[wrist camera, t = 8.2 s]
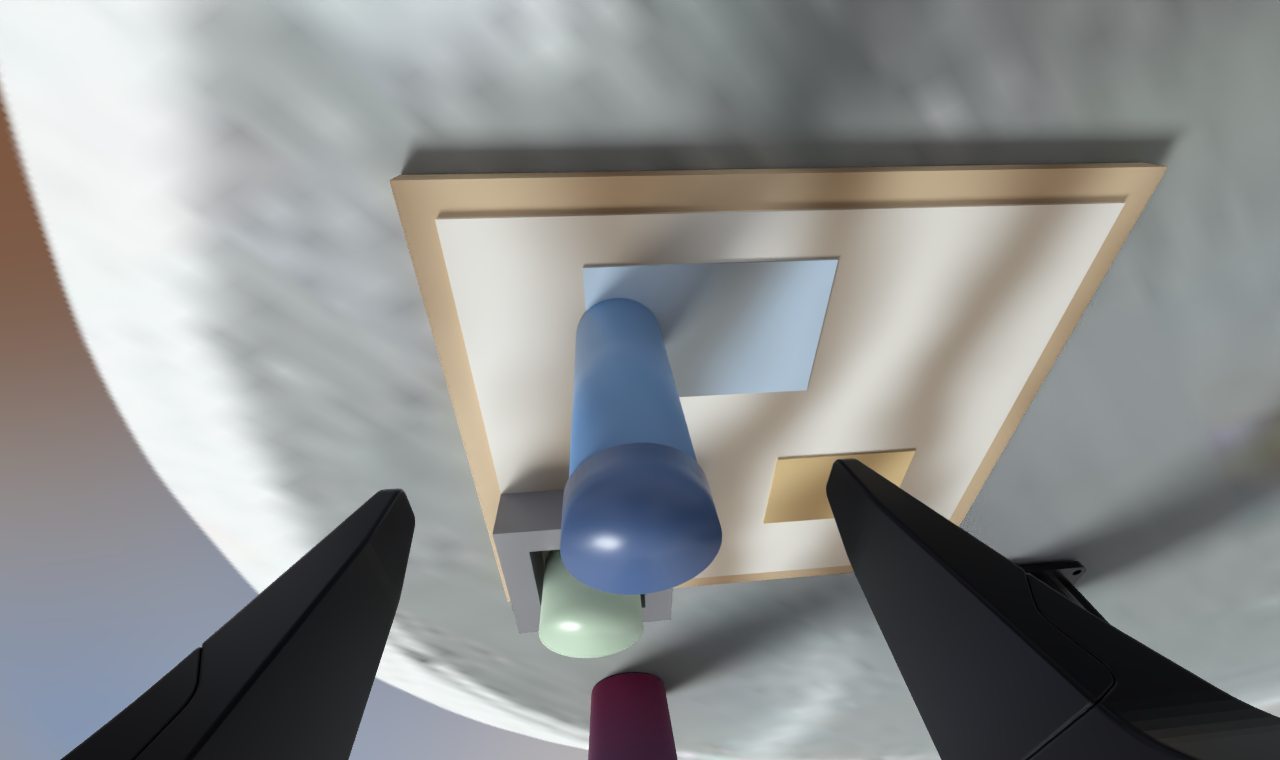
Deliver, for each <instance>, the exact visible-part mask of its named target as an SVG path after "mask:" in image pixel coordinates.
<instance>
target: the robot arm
mask: <svg viewBox="0 0 1280 760" xmlns="http://www.w3.org/2000/svg"><path fill="white" fill-rule="evenodd" d="M826 495H827V498H828V501H829V504H830V507H831V510H832V513H833V516H834V519H835V522H836V525H837V528H838V530H839V533H840V536H841V539H842V542H843V545H844V548H845V551H846V554H847V556H848V559H849V562H850V564H851V566H852V568H853V571H854V573H855V575H856V577H857V579H858V582H859V584H860V586H861V588H862V590H863V592H864V594H865V597H866V599H867V601H868V603H869V605H870V607H871V609H872V612H873V614H874V616H875V618H876V620H877V622H878V625H879V627H880V629H881V631H882V633H883V635H884V637H885V640H886V642H887V644H888V646H889V648H890V650H891V652H892V655H893V657H894V659H895V661H896V663H897V665H898V667H899V670H900V672H901V674H902V676H903V678H904V680H905V682H906V685H907V687H908V689H909V691H910V693H911V695H912V697H913V700H914V702H915V704H916V706H917V708H918V710H919V713H920V715H921V717H922V719H923V721H924V723H925V725H926V728H927V730H928V732H929V734H930V736H931V738H932V740H933V743H934V745H935V747H936V749H937V751H938V753H939V755H940V758H941V760H1280V718H1279V717H1277V716H1274V715H1272V714H1269V713H1267V712H1264V711H1262V710H1260V709H1257V708H1255V707H1253V706H1251V705H1249V704H1247V703H1245V702H1243V701H1241V700H1239V699H1237V698H1235V697H1233V696H1231V695H1229V694H1228V693H1226V692H1224V691H1222V690H1220V689H1219V688H1217V687H1215V686H1213V685H1212V684H1210V683H1208V682H1207V681H1205V680H1203V679H1202V678H1200V677H1198V676H1196V675H1195V674H1193V673H1191V672H1190V671H1188V670H1186V669H1184V668H1183V667H1181V666H1179V665H1178V664H1176V663H1174V662H1173V661H1171V660H1169V659H1167V658H1166V657H1164V656H1162V655H1161V654H1159V653H1157V652H1156V651H1154V650H1152V649H1150V648H1149V647H1147V646H1145V645H1144V644H1142V643H1140V642H1139V641H1137V640H1135V639H1133V638H1132V637H1130V636H1128V635H1127V634H1125V633H1123V632H1122V631H1120V630H1118V629H1117V628H1115V627H1113V626H1112V625H1110V624H1109V623H1108V622H1107V621H1106V620H1105V619H1104V617H1103V616H1102V615H1101V614H1100V613H1099V612H1098V611H1097V610H1096V609H1095V608H1094V607H1093V606H1092V605H1091V604H1090V603H1089V602H1088V601H1087V599H1086V598H1085V597H1084V596H1083V595H1082V594H1081V593H1080V592H1079V591H1078V590H1077V589H1076V588H1075V587H1074V586H1073V585H1074V584H1075V582H1076V581H1077V580H1078V579H1079V578H1080V577H1081V576H1082V574H1083V573H1084V572H1085V571H1086V568H1085V567H1084V566H1083V565H1082V564H1081V563H1080V562H1078V561H1074V562H1062V563H1051V564H1039V565H1028V566H1017V565H1016V564H1014V563H1013V562H1011V561H1010V560H1008V559H1007V558H1005V557H1004V556H1002V555H1001V554H999V553H998V552H996V551H995V550H993V549H992V548H990V547H989V546H987V545H986V544H984V543H983V542H981V541H980V540H978V539H977V538H975V537H974V536H972V535H971V534H969V533H968V532H966V531H965V530H963V529H962V528H960V527H959V526H957V525H956V524H954V523H953V522H951V521H950V520H948V519H947V518H945V517H943V516H942V515H940V514H939V513H937V512H936V511H934V510H933V509H931V508H930V507H928V506H927V505H925V504H924V503H922V502H921V501H919V500H918V499H916V498H915V497H913V496H912V495H910V494H909V493H907V492H906V491H904V490H903V489H901V488H900V487H898V486H897V485H895V484H894V483H892V482H891V481H889V480H888V479H886V478H885V477H883V476H882V475H880V474H879V473H877V472H876V471H874V470H873V469H871V468H870V467H868V466H867V465H865V464H863V463H862V462H860V461H859V460H857V459H855V458H845V459H837V460H835V461H834V463H833V465H832V469H831V472H830V475H829V478H828V481H827V484H826ZM414 528H415V517H414V513H413V511H412V508H411V506H410V503H409V501H408V499H407V496H406V494H405V492H404V491H403V490H402V489H385V490H380V491H379V492H377V493H376V494H375V495H374V496H372V497H371V498H370V499H369V500H368V501H367V502H365V503H364V504H363V505H362V506H361V507H360V508H358V509H357V510H356V511H355V512H354V513H353V514H352V515H350V516H349V517H348V518H347V519H346V520H345V521H343V522H342V523H341V524H340V525H339V526H338V527H337V528H335V529H334V530H333V531H332V532H331V533H330V534H328V535H327V536H326V537H325V538H324V539H323V540H322V541H320V542H319V543H318V544H317V545H316V546H315V547H313V548H312V549H311V550H310V551H309V552H308V553H306V554H305V555H304V556H303V557H302V558H301V559H300V560H298V561H297V562H296V563H295V564H294V565H293V566H291V567H290V568H289V569H288V570H287V571H286V572H285V573H283V574H282V575H281V576H280V577H279V578H278V579H276V580H275V581H274V582H273V583H272V584H271V585H270V586H268V587H267V588H266V589H265V590H264V591H263V592H261V593H260V594H259V595H258V596H257V597H256V598H255V599H253V600H252V601H251V602H250V603H249V604H248V605H247V606H245V607H244V608H243V609H242V610H241V611H240V612H238V613H237V614H236V615H235V616H234V617H233V618H231V620H229V621H228V622H227V623H226V624H224V625H223V626H222V627H221V628H220V629H219V630H218V631H216V632H215V633H214V634H213V635H212V636H211V637H209V638H208V639H207V640H206V641H205V642H204V643H203V644H202V647H199V648H197V649H196V650H194V651H193V652H192V653H191V654H190V655H188V656H187V657H186V658H185V659H184V660H183V661H182V662H180V663H179V664H178V665H177V666H176V667H175V668H173V669H172V670H171V671H170V672H169V673H167V674H166V675H165V676H164V677H163V678H162V679H160V680H159V681H158V682H157V683H156V684H154V685H153V686H152V687H151V688H150V689H148V690H147V691H146V692H145V693H144V694H142V695H141V696H140V697H139V698H138V699H137V700H135V701H134V702H133V703H132V704H130V705H129V706H128V707H127V708H125V709H124V710H123V711H122V712H120V713H119V714H118V715H117V716H115V717H114V718H113V719H112V720H110V721H109V722H108V723H107V724H105V725H104V726H103V727H101V728H100V729H99V730H98V731H96V732H95V733H94V734H93V735H91V736H90V737H89V738H88V739H87V740H85V741H84V742H83V743H82V744H80V745H79V746H77V747H76V748H75V749H74V750H72V751H71V752H70V753H68V754H67V755H66V756H65V757H63V758H62V759H61V760H348V759H349V756H350V753H351V750H352V747H353V743H354V741H355V738H356V734H357V731H358V728H359V725H360V722H361V719H362V716H363V713H364V710H365V706H366V703H367V700H368V697H369V694H370V691H371V688H372V685H373V682H374V679H375V675H376V672H377V669H378V666H379V663H380V660H381V657H382V654H383V651H384V648H385V644H386V641H387V638H388V635H389V632H390V629H391V626H392V623H393V620H394V617H395V613H396V610H397V607H398V603H399V600H400V596H401V591H402V587H403V582H404V577H405V572H406V567H407V562H408V557H409V553H410V548H411V543H412V538H413V533H414Z"/></svg>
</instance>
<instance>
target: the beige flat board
mask: <svg viewBox="0 0 1280 760" xmlns="http://www.w3.org/2000/svg"><path fill="white" fill-rule="evenodd" d="M1167 168H1168V167H1167V166H1161V165H1155V164H1148V163H1082V164H1023V165H963V166H904V167H844V168H785V169H726V170H666V171H607V172H547V173H488V174H428V175H399V176H397V177H395V178H393V179H391V180H390V184H391V188H392V191H393V195H394V198H395V202H396V205H397V209H398V212H399V216H400V220H401V223H402V227H403V230H404V234H405V237H406V241H407V245H408V248H409V252H410V255H411V259H412V262H413V266H414V269H415V273H416V277H417V280H418V284H419V287H420V291H421V294H422V298H423V302H424V305H425V309H426V312H427V316H428V319H429V323H430V326H431V330H432V334H433V337H434V341H435V344H436V348H437V351H438V355H439V359H440V362H441V366H442V369H443V373H444V376H445V380H446V383H447V387H448V391H449V394H450V398H451V401H452V405H453V408H454V412H455V416H456V419H457V423H458V426H459V430H460V433H461V437H462V440H463V444H464V448H465V451H466V455H467V458H468V462H469V465H470V469H471V472H472V476H473V480H474V483H475V487H476V490H477V494H478V497H479V501H480V505H481V508H482V512H483V515H484V519H485V522H486V526H487V529H488V533H489V537H490V540H491V544H492V547H493V551H494V554H495V558H496V562H497V565H498V569H499V572H500V576H501V579H502V583H503V586H504V590H505V594H506V597H507V601H508V602H511V600H510V597H509V593H508V590H507V586H506V582H505V579H504V575H503V571H502V568H501V564H500V560H499V557H498V553H497V549H496V546H495V542H494V539H493V535H492V534H493V529H494V524H495V519H496V515H497V510H498V505H499V501H500V496H501V494H509V493H523V492H538V491H553V490H564V489H565V486H566V483H567V481H568V479H569V468H570V448H571V428H572V407H573V387H574V366H575V346H576V331H577V327H578V324H579V321H580V319H581V318H582V316H583V315H584V314H585V313H586V311H587V310H589V309H590V308H591V307H592V306H594V305H595V304H597V303H599V302H601V301H604V300H608V299H613V298H625V299H631V300H634V301H637V302H639V303H641V304H643V305H644V306H646V307H647V308H648V309H649V310H650V311H651V312H652V313H653V314H654V316H655V317H656V319H657V321H658V324H659V327H660V330H661V334H662V338H663V341H664V345H665V348H666V352H667V355H668V359H669V363H670V366H671V370H672V373H673V377H674V381H675V384H676V388H677V391H678V395H679V398H680V402H681V406H682V409H683V413H684V416H685V420H686V424H687V427H688V431H689V434H690V438H691V441H692V445H693V449H694V452H695V456H696V459H697V463H698V464H699V465H700V466H701V468H702V469H703V471H704V473H705V475H706V478H707V480H708V484H709V487H710V491H711V494H712V498H713V501H714V504H715V508H716V511H717V515H718V518H719V522H720V525H721V529H722V543H721V547H720V549H719V552H718V554H717V556H716V557H715V559H714V560H713V561H712V563H711V564H710V565H709V566H708V567H707V568H706V569H705V570H704V571H702V572H701V573H700V574H698V575H697V576H696V577H694V578H692V579H691V580H689V581H687V582H685V583H683V584H681V585H678V586H676V587H673V588H677V587H689V586H701V585H713V584H725V583H736V582H748V581H760V580H772V579H783V578H795V577H807V576H819V575H831V574H842V573H854V571H853V568H852V566H851V564H850V562H849V559H848V556H847V554H846V551H845V548H844V545H843V542H842V539H841V536H840V533H839V530H838V528H837V525H836V522H835V519H834V516H833V513H832V510H831V507H830V504H829V501H828V498H827V495H826V484H827V481H828V478H829V475H830V472H831V469H832V465H833V463H834V461H835V460H837V459H845V458H855V459H857V460H859V461H860V462H862V463H863V464H865V465H867V466H868V467H870V468H871V469H873V470H874V471H876V472H877V473H879V474H880V475H882V476H883V477H885V478H886V479H888V480H889V481H891V482H892V483H894V484H895V485H897V486H898V487H900V488H901V489H903V490H904V491H906V492H907V493H909V494H910V495H912V496H913V497H915V498H916V499H918V500H919V501H921V502H922V503H924V504H925V505H927V506H928V507H930V508H931V509H933V510H934V511H936V512H937V513H939V514H940V515H942V516H943V517H945V518H947V519H948V520H950V521H951V522H953V523H954V524H956V525H957V526H960V524H961V522H962V521H963V519H964V517H965V516H966V514H967V512H968V510H969V509H970V507H971V505H972V504H973V502H974V500H975V498H976V497H977V495H978V493H979V491H980V490H981V488H982V486H983V485H984V483H985V481H986V479H987V478H988V476H989V474H990V473H991V471H992V469H993V467H994V466H995V464H996V462H997V460H998V459H999V457H1000V455H1001V454H1002V452H1003V450H1004V448H1005V447H1006V445H1007V443H1008V442H1009V440H1010V438H1011V436H1012V435H1013V433H1014V431H1015V429H1016V428H1017V426H1018V424H1019V423H1020V421H1021V419H1022V417H1023V416H1024V414H1025V412H1026V411H1027V409H1028V407H1029V405H1030V404H1031V402H1032V400H1033V398H1034V397H1035V395H1036V393H1037V392H1038V390H1039V388H1040V386H1041V385H1042V383H1043V381H1044V380H1045V378H1046V376H1047V374H1048V373H1049V371H1050V369H1051V367H1052V366H1053V364H1054V362H1055V361H1056V359H1057V357H1058V355H1059V354H1060V352H1061V350H1062V349H1063V347H1064V345H1065V343H1066V342H1067V340H1068V338H1069V336H1070V335H1071V333H1072V331H1073V330H1074V328H1075V326H1076V324H1077V323H1078V321H1079V319H1080V318H1081V316H1082V314H1083V312H1084V311H1085V309H1086V307H1087V305H1088V304H1089V302H1090V300H1091V299H1092V297H1093V295H1094V293H1095V292H1096V290H1097V288H1098V287H1099V285H1100V283H1101V281H1102V280H1103V278H1104V276H1105V274H1106V273H1107V271H1108V269H1109V268H1110V266H1111V264H1112V262H1113V261H1114V259H1115V257H1116V256H1117V254H1118V252H1119V250H1120V249H1121V247H1122V245H1123V243H1124V242H1125V240H1126V238H1127V237H1128V235H1129V233H1130V231H1131V230H1132V228H1133V226H1134V225H1135V223H1136V221H1137V219H1138V218H1139V216H1140V214H1141V212H1142V211H1143V209H1144V207H1145V206H1146V204H1147V202H1148V200H1149V199H1150V197H1151V195H1152V194H1153V192H1154V190H1155V188H1156V187H1157V185H1158V183H1159V181H1160V180H1161V178H1162V176H1163V175H1164V173H1165V171H1166V169H1167ZM549 551H550V550H547V551H542V556H543V561H544V566H545V560H546V557H547V555H548V553H549Z"/></svg>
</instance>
